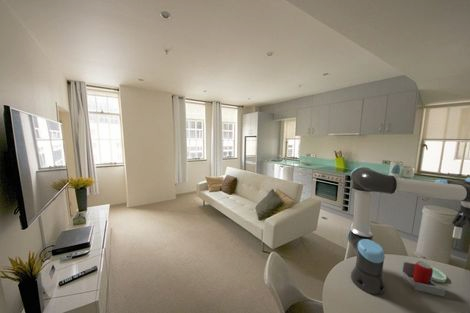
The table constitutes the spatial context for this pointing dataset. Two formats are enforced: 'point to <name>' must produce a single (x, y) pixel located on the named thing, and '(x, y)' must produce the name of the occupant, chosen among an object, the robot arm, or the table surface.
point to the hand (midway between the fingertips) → (464, 244)
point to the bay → (433, 289)
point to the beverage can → (422, 273)
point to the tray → (438, 275)
